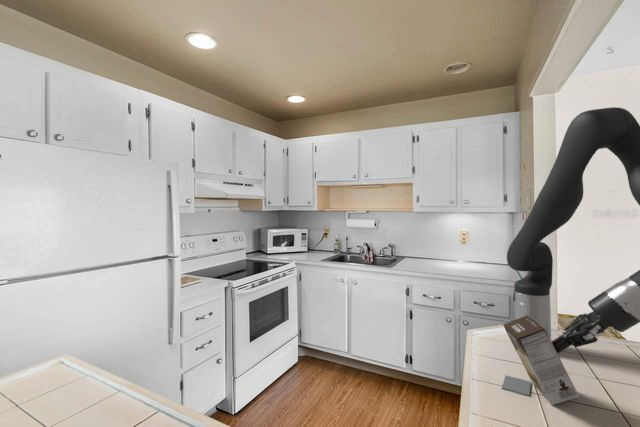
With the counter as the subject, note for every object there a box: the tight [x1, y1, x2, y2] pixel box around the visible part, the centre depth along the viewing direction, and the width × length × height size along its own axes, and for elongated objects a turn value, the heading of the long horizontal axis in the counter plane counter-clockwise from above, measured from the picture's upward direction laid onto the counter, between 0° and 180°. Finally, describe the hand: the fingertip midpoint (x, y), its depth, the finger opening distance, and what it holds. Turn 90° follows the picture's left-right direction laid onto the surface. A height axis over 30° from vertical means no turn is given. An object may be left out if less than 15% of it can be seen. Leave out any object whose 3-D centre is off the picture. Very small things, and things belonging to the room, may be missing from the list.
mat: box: [501, 374, 532, 397], centre depth 75 cm, size 7×6×1 cm
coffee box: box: [502, 315, 580, 406], centre depth 72 cm, size 9×6×16 cm
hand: (552, 348), depth 71 cm, fingers closed
